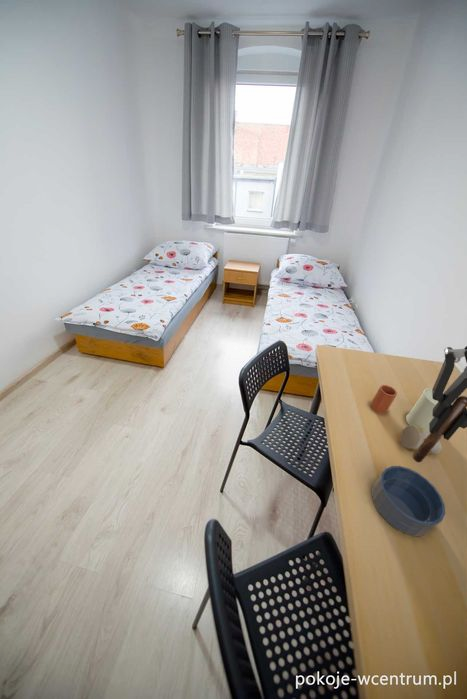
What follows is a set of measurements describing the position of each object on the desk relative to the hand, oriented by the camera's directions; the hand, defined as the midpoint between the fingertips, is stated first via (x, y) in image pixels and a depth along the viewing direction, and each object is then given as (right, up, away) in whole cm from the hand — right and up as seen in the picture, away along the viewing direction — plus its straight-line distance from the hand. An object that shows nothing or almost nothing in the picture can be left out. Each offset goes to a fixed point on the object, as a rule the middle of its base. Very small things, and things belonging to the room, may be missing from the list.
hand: (438, 431), depth 54 cm
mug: (+13, -12, +26) cm, 31 cm away
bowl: (-1, -21, +11) cm, 23 cm away
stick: (-1, -8, +5) cm, 9 cm away
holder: (+8, -3, +38) cm, 39 cm away
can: (+19, -8, +33) cm, 40 cm away
